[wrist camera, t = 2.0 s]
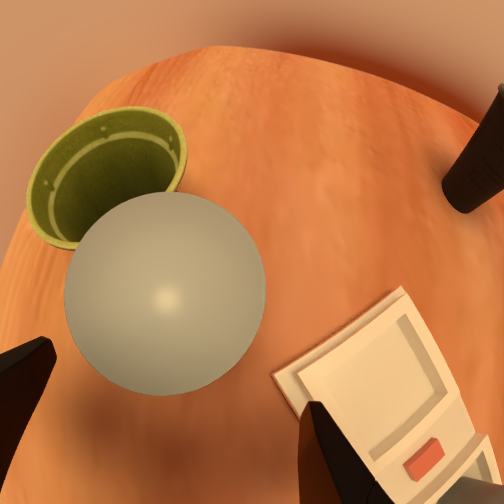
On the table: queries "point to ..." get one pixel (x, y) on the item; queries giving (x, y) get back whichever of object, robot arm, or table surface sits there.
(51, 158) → the plant pot
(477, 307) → the table surface
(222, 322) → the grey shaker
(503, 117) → the drinking cup
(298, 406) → the peg insertion board
